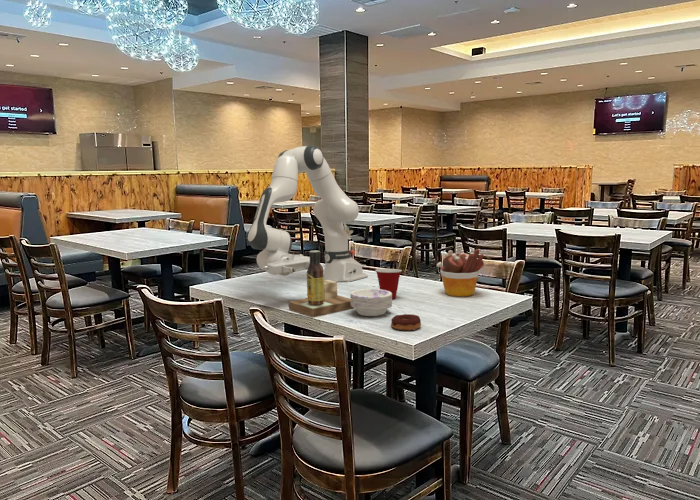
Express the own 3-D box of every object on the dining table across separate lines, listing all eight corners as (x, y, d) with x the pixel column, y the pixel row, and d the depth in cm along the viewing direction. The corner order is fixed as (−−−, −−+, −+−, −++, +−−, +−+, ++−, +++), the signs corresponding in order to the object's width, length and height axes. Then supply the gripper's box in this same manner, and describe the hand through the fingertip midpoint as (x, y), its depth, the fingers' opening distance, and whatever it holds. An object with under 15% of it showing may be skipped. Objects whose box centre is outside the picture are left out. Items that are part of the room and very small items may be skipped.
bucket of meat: (429, 292, 227) (429, 246, 224) (458, 287, 236) (458, 242, 233) (463, 301, 211) (464, 251, 208) (493, 295, 219) (493, 247, 217)
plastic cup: (404, 295, 223) (404, 267, 221) (398, 301, 213) (398, 272, 211) (379, 294, 226) (379, 266, 225) (372, 300, 216) (371, 271, 214)
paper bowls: (395, 308, 202) (394, 288, 201) (388, 319, 187) (388, 297, 186) (355, 307, 205) (355, 287, 204) (346, 318, 191) (345, 296, 190)
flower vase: (344, 272, 278) (343, 224, 274) (318, 268, 289) (316, 222, 286) (359, 268, 288) (358, 222, 284) (333, 265, 299) (332, 220, 296)
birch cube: (328, 294, 215) (327, 279, 214) (337, 297, 210) (336, 282, 209) (315, 297, 211) (315, 282, 210) (324, 299, 206) (324, 284, 205)
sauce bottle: (307, 302, 202) (305, 249, 199) (324, 301, 202) (322, 249, 200) (307, 306, 196) (305, 252, 193) (324, 305, 196) (323, 251, 193)
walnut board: (330, 300, 217) (330, 292, 217) (356, 307, 205) (355, 299, 204) (288, 309, 205) (288, 301, 204) (313, 317, 192) (312, 308, 192)
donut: (384, 328, 178) (384, 316, 177) (402, 321, 185) (402, 310, 184) (409, 334, 171) (409, 322, 171) (426, 327, 178) (426, 315, 178)
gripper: (260, 259, 207) (279, 263, 197) (304, 253, 220) (324, 257, 210) (261, 275, 208) (280, 280, 198) (304, 268, 221) (324, 272, 210)
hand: (303, 268), depth 204 cm, fingers open, 8 cm apart
